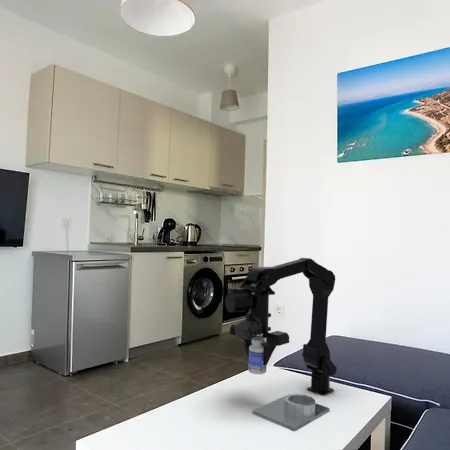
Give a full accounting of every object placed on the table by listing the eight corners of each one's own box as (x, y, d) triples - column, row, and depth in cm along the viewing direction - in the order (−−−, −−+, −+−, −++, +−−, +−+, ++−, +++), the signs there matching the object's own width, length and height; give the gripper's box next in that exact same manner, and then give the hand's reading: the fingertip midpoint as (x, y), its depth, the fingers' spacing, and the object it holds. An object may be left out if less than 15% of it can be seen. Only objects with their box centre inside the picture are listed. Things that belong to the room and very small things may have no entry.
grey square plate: (289, 396, 124) (289, 384, 124) (329, 411, 114) (329, 397, 114) (252, 413, 111) (252, 399, 111) (294, 431, 101) (294, 416, 101)
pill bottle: (265, 375, 114) (266, 342, 114) (246, 373, 115) (248, 340, 115) (267, 369, 119) (268, 337, 120) (249, 367, 121) (250, 335, 121)
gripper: (217, 308, 119) (216, 360, 118) (266, 318, 106) (265, 377, 105) (242, 304, 127) (241, 353, 126) (290, 313, 114) (289, 368, 113)
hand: (257, 362), depth 117 cm, fingers closed on pill bottle, 5 cm apart
